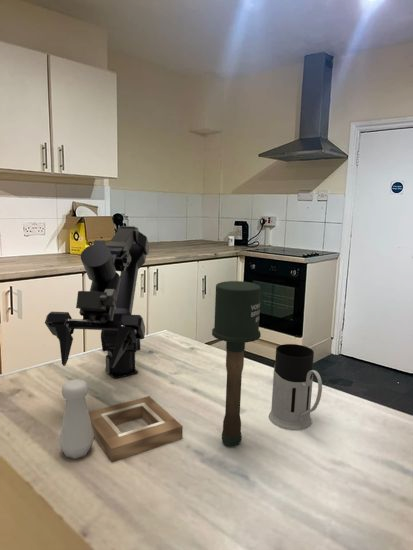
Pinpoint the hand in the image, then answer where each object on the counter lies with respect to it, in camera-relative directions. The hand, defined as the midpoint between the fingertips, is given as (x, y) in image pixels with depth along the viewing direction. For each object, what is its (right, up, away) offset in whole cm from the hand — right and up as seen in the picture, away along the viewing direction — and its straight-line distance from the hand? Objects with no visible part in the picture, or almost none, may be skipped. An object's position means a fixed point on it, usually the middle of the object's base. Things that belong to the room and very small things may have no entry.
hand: (87, 365), depth 79 cm
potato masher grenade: (+27, -14, -1) cm, 31 cm away
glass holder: (+40, -14, +6) cm, 43 cm away
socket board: (+8, -13, +2) cm, 15 cm away
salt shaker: (-1, -14, -5) cm, 15 cm away
